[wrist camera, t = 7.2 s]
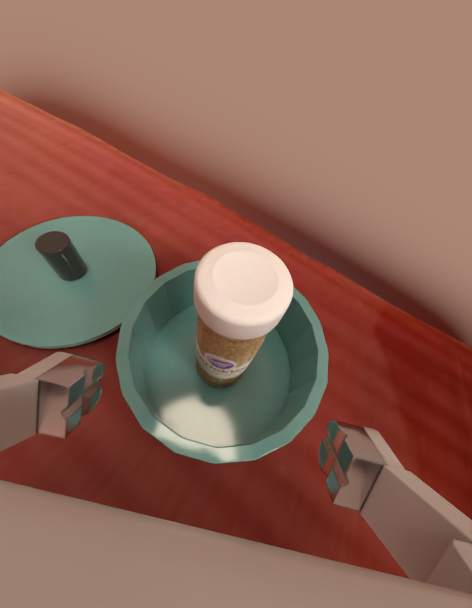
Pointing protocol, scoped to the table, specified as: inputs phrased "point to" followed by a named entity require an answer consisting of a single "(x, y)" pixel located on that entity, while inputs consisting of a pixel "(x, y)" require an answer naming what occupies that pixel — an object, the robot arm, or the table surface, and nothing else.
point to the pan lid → (71, 280)
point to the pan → (210, 400)
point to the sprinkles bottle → (236, 308)
